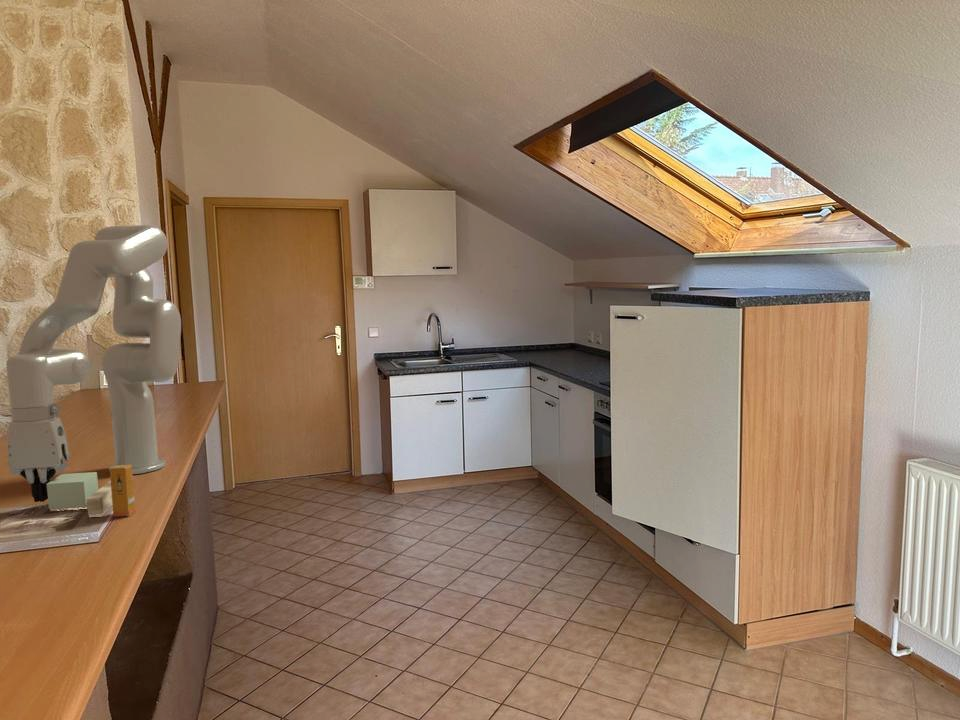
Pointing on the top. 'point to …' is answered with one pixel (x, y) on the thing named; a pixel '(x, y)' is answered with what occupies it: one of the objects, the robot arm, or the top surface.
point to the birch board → (100, 500)
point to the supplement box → (122, 490)
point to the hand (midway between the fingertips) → (42, 499)
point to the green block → (71, 490)
